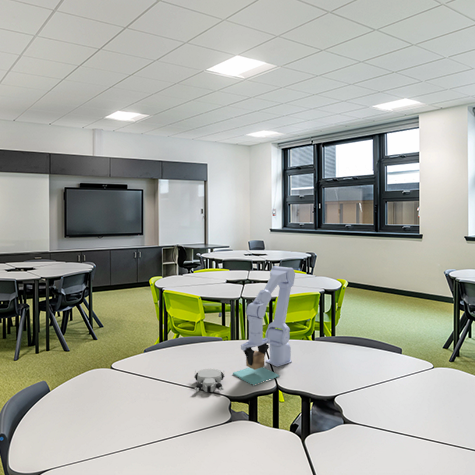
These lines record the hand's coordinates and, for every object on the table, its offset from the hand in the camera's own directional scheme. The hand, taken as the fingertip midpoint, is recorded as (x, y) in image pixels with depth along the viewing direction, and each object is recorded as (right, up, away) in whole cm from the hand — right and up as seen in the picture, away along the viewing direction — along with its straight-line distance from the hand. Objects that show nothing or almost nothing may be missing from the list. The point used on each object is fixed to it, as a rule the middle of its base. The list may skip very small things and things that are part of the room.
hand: (255, 362), depth 176 cm
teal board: (0, -6, +1) cm, 6 cm away
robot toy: (-19, -7, -9) cm, 22 cm away
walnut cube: (0, -2, 0) cm, 2 cm away
